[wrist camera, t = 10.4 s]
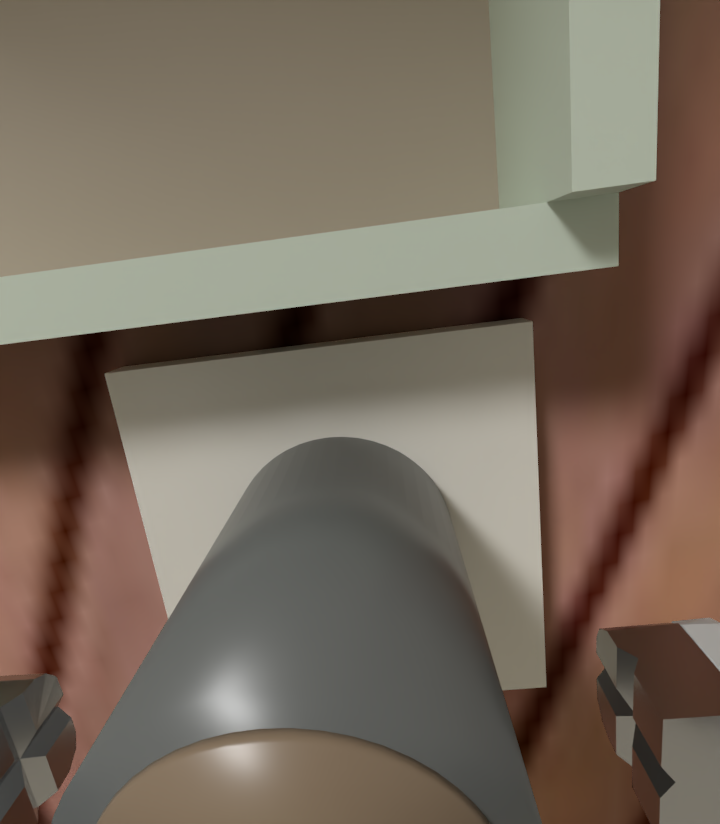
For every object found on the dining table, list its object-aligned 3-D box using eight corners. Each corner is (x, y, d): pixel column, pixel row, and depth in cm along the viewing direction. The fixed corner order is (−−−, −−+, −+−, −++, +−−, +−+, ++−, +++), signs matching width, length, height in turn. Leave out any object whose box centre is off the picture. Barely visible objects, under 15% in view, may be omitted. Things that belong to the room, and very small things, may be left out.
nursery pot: (443, 424, 11) (689, 997, 2) (460, 623, 12) (661, 1469, 4) (215, 450, 11) (-314, 1037, 3) (256, 641, 13) (-10, 1458, 4)
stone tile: (521, 317, 11) (532, 321, 10) (536, 663, 13) (546, 687, 13) (122, 366, 12) (104, 373, 11) (203, 689, 14) (192, 713, 13)
